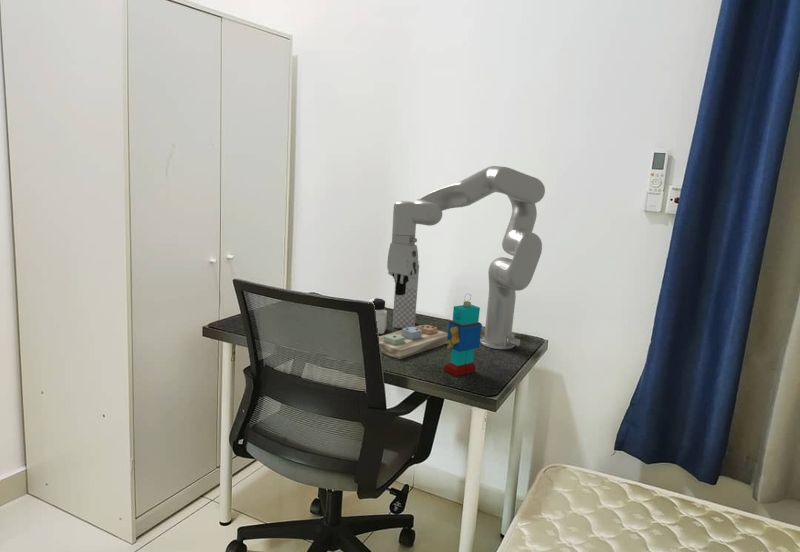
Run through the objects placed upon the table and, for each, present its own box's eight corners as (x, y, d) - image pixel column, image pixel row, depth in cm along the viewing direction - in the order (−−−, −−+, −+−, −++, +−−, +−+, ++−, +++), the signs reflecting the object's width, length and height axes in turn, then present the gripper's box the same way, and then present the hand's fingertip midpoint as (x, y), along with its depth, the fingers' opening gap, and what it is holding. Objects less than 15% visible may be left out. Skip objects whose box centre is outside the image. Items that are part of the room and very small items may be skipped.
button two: (421, 338, 196) (422, 329, 196) (412, 341, 193) (412, 332, 192) (410, 334, 200) (411, 325, 199) (401, 337, 196) (401, 328, 195)
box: (393, 321, 224) (397, 259, 219) (414, 322, 223) (419, 261, 218) (392, 327, 215) (396, 263, 210) (414, 329, 215) (419, 265, 210)
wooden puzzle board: (450, 342, 203) (451, 334, 202) (399, 359, 182) (400, 350, 181) (420, 332, 212) (421, 324, 211) (368, 347, 191) (368, 339, 190)
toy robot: (467, 365, 181) (474, 289, 176) (480, 371, 176) (488, 294, 171) (439, 371, 174) (446, 292, 169) (452, 378, 169) (460, 297, 164)
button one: (404, 345, 190) (405, 336, 189) (394, 348, 186) (395, 339, 186) (393, 341, 193) (393, 333, 192) (383, 344, 189) (384, 335, 189)
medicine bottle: (385, 328, 213) (387, 298, 211) (383, 334, 207) (385, 302, 204) (367, 326, 214) (369, 296, 212) (364, 332, 207) (366, 300, 205)
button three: (436, 335, 203) (437, 327, 203) (428, 338, 200) (428, 329, 199) (426, 332, 207) (426, 323, 206) (417, 334, 203) (418, 326, 202)
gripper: (428, 242, 181) (425, 297, 185) (393, 235, 191) (391, 288, 194) (413, 243, 176) (410, 300, 179) (378, 237, 185) (376, 291, 189)
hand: (400, 294), depth 187 cm, fingers closed
